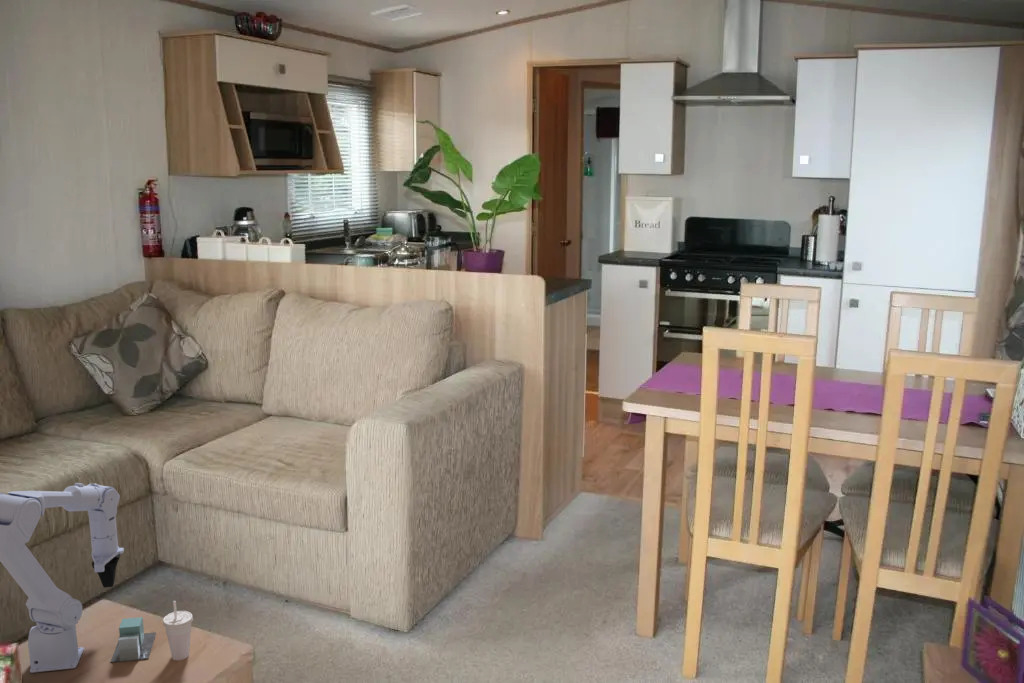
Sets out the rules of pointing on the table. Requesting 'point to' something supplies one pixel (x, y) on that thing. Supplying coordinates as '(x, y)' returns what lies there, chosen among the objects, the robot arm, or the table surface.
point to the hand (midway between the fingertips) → (108, 586)
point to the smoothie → (178, 632)
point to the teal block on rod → (132, 627)
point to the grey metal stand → (133, 647)
